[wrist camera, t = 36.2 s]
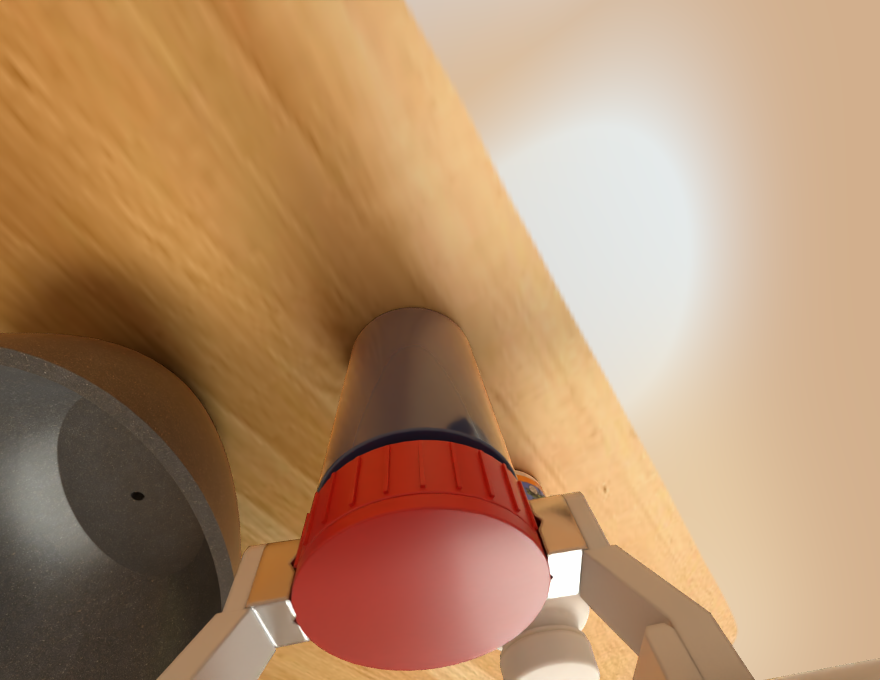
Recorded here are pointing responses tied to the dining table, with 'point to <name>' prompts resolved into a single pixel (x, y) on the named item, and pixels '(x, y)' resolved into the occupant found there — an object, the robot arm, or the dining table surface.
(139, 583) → the bowl
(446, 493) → the lid
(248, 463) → the dining table surface
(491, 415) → the jar
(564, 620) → the pill bottle
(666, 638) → the robot arm
